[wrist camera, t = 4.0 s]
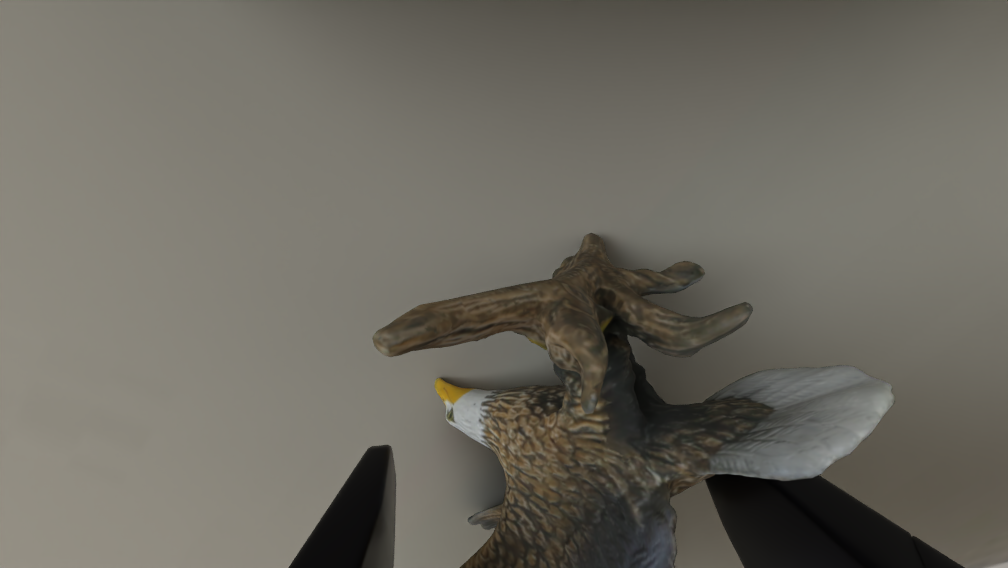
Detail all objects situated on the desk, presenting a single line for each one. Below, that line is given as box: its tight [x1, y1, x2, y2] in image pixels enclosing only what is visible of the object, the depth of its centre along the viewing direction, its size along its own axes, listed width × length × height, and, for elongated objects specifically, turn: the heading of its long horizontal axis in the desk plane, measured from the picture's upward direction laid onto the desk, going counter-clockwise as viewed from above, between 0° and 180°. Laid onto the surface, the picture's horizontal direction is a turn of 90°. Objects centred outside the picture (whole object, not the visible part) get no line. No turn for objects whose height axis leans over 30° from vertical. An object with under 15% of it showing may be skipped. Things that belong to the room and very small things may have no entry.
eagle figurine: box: [373, 233, 895, 568], centre depth 8 cm, size 8×7×9 cm
